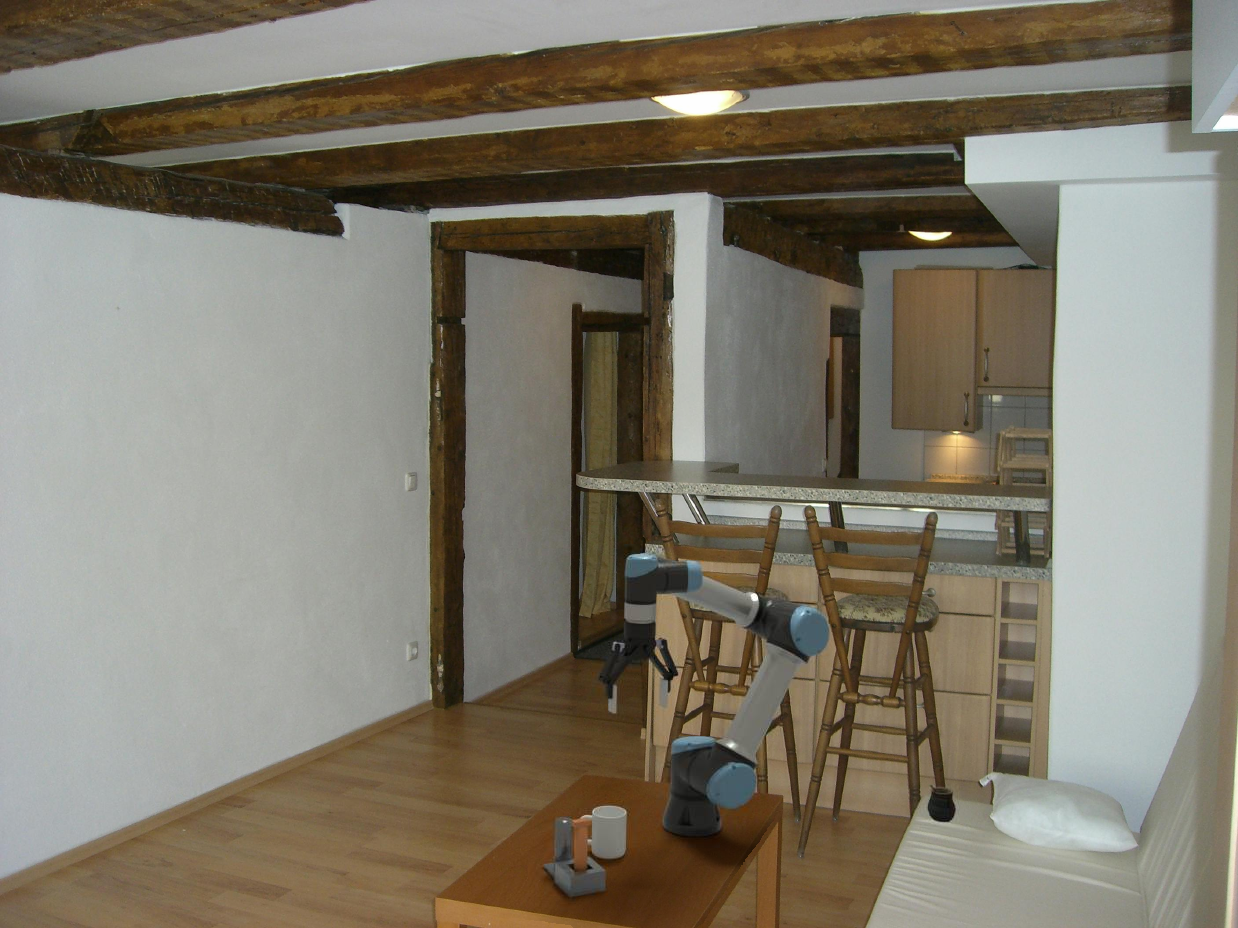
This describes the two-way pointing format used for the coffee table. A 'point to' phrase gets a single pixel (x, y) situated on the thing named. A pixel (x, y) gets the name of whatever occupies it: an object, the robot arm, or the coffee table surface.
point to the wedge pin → (580, 843)
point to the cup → (608, 832)
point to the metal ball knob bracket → (564, 865)
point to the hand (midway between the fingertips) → (638, 709)
